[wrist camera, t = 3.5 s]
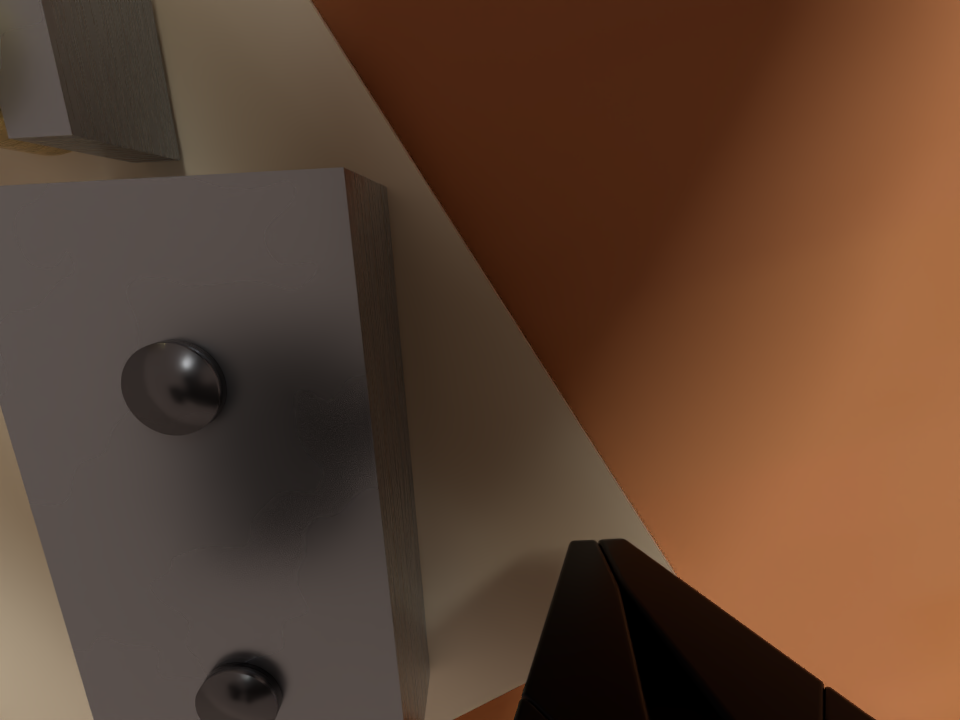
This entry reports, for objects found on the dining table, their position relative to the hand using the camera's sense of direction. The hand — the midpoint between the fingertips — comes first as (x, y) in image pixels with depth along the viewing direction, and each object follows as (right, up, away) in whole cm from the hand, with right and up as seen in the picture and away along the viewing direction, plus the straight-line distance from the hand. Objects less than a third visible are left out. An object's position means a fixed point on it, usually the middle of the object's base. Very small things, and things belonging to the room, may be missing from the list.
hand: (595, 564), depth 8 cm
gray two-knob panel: (-5, +3, +1) cm, 6 cm away
